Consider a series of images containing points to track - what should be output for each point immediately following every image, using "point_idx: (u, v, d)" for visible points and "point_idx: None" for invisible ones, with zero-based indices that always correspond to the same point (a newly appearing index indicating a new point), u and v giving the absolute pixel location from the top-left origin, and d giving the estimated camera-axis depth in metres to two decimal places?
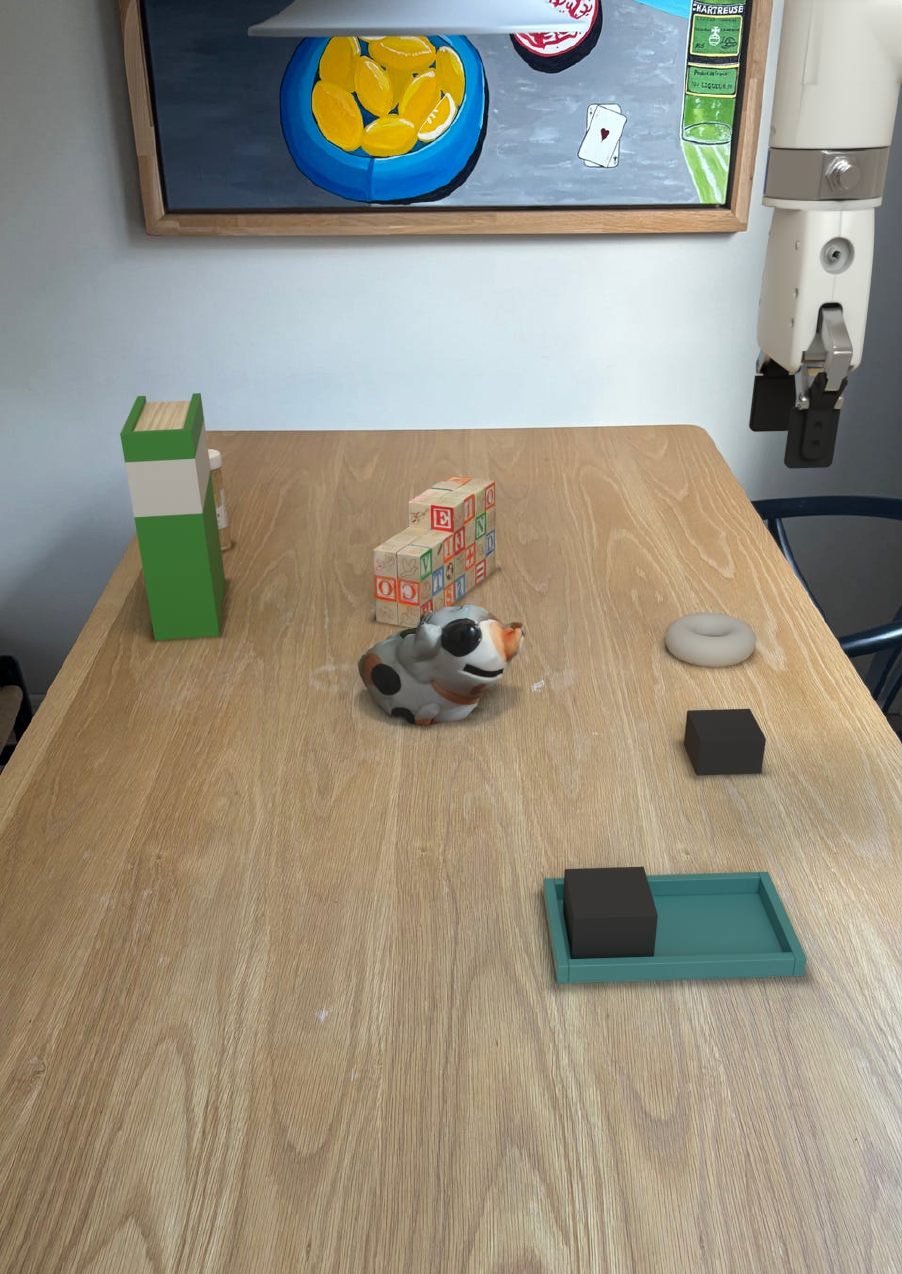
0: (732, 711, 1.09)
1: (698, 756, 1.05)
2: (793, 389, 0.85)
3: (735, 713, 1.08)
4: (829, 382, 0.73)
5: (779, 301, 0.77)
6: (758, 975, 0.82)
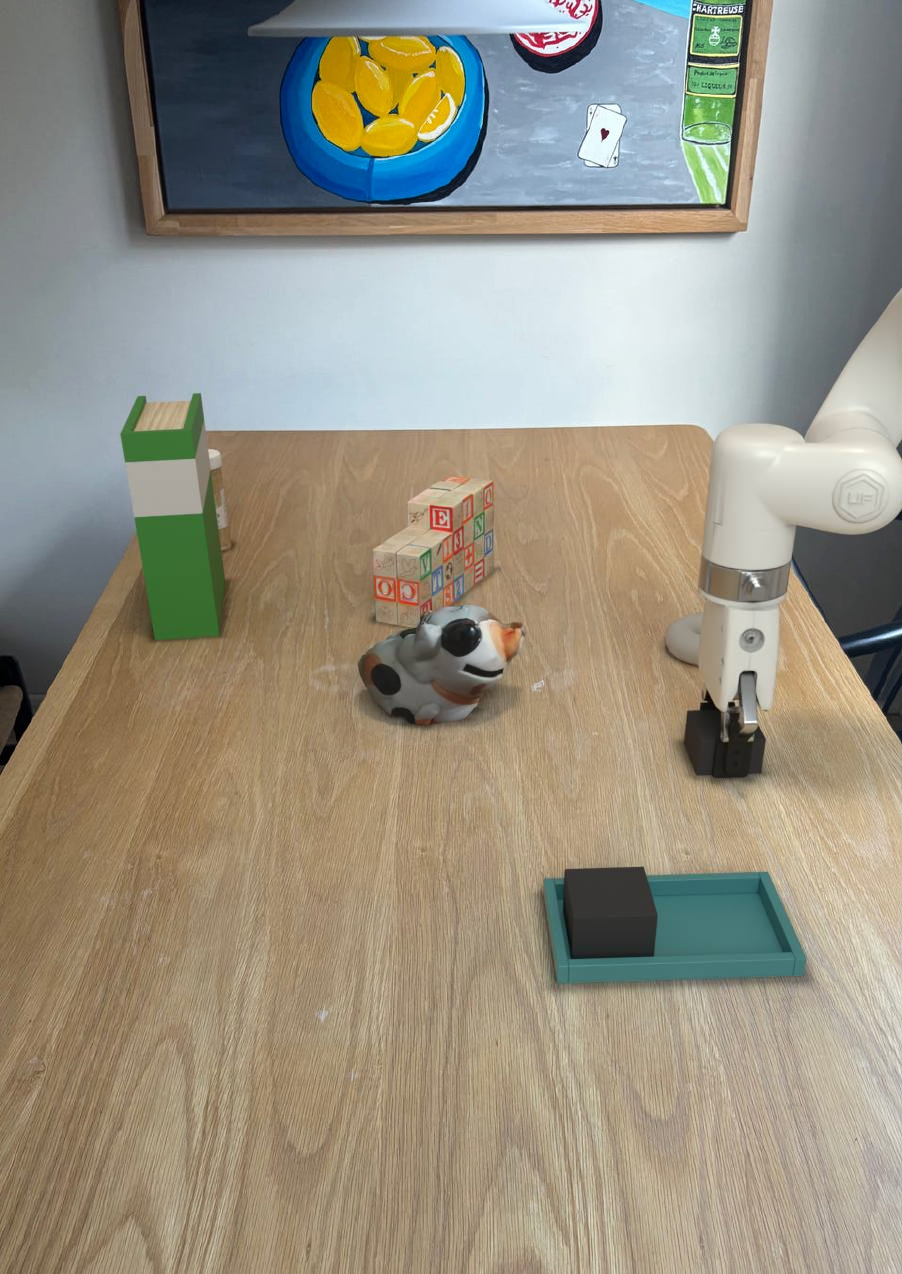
0: None
1: (698, 756, 1.05)
2: None
3: None
4: None
5: (711, 659, 1.01)
6: (758, 975, 0.82)
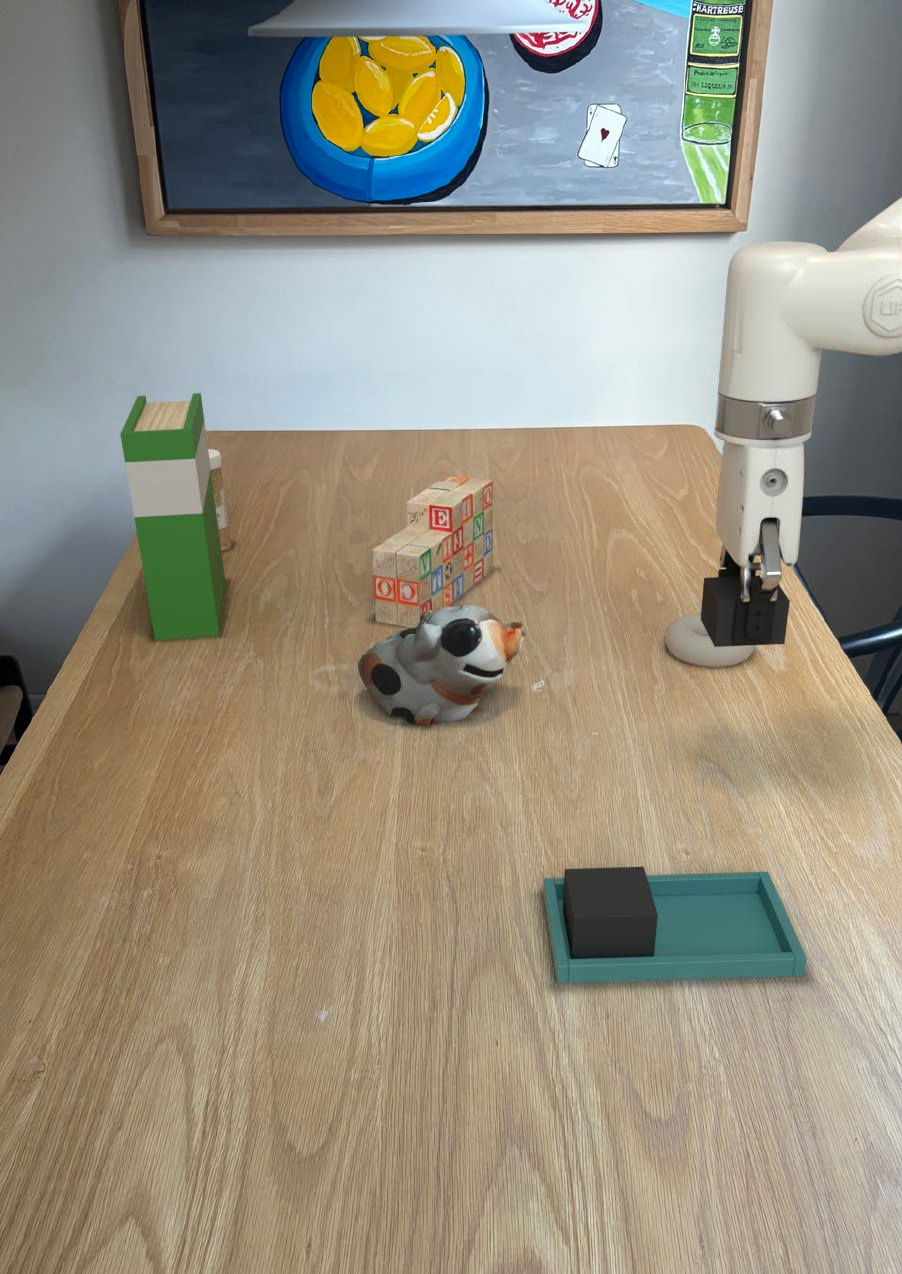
0: (753, 577, 1.01)
1: (716, 621, 0.97)
2: None
3: None
4: None
5: (730, 510, 0.93)
6: (758, 975, 0.82)
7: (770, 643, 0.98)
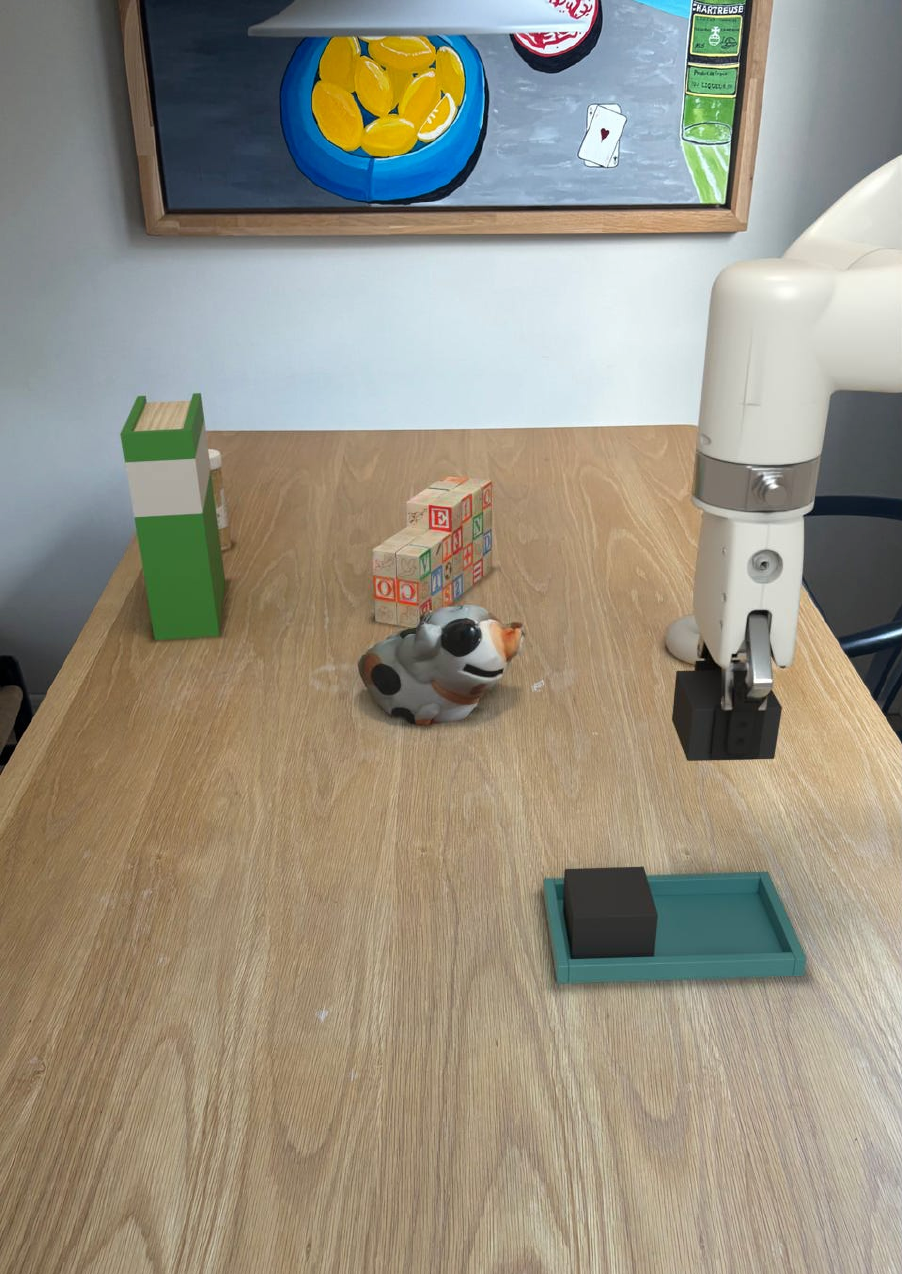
0: (737, 672, 0.81)
1: (690, 730, 0.78)
2: None
3: (741, 674, 0.81)
4: None
5: (709, 596, 0.74)
6: (758, 975, 0.82)
7: (756, 758, 0.79)
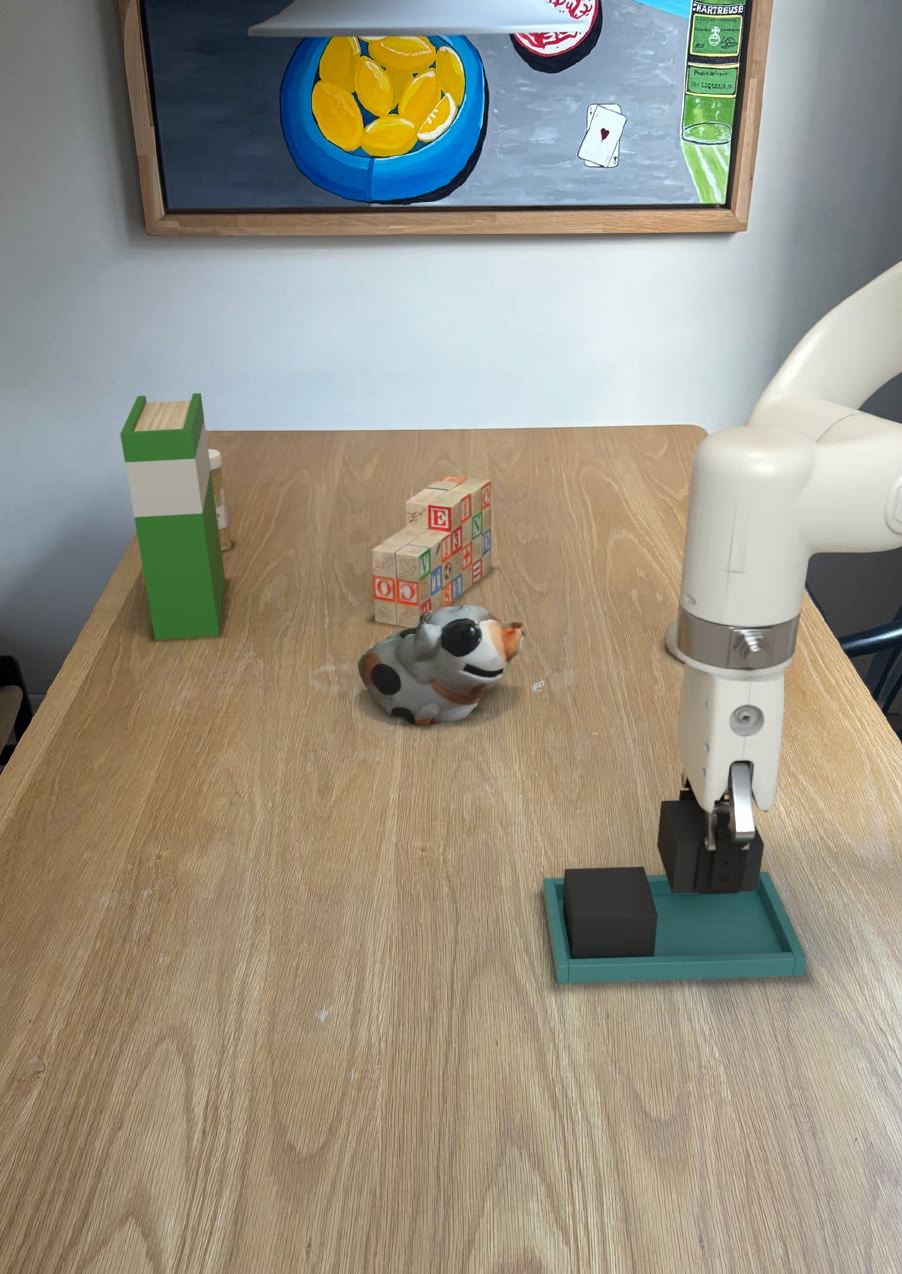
0: (720, 802, 0.83)
1: (674, 866, 0.79)
2: None
3: None
4: None
5: (693, 741, 0.76)
6: (758, 975, 0.82)
7: None
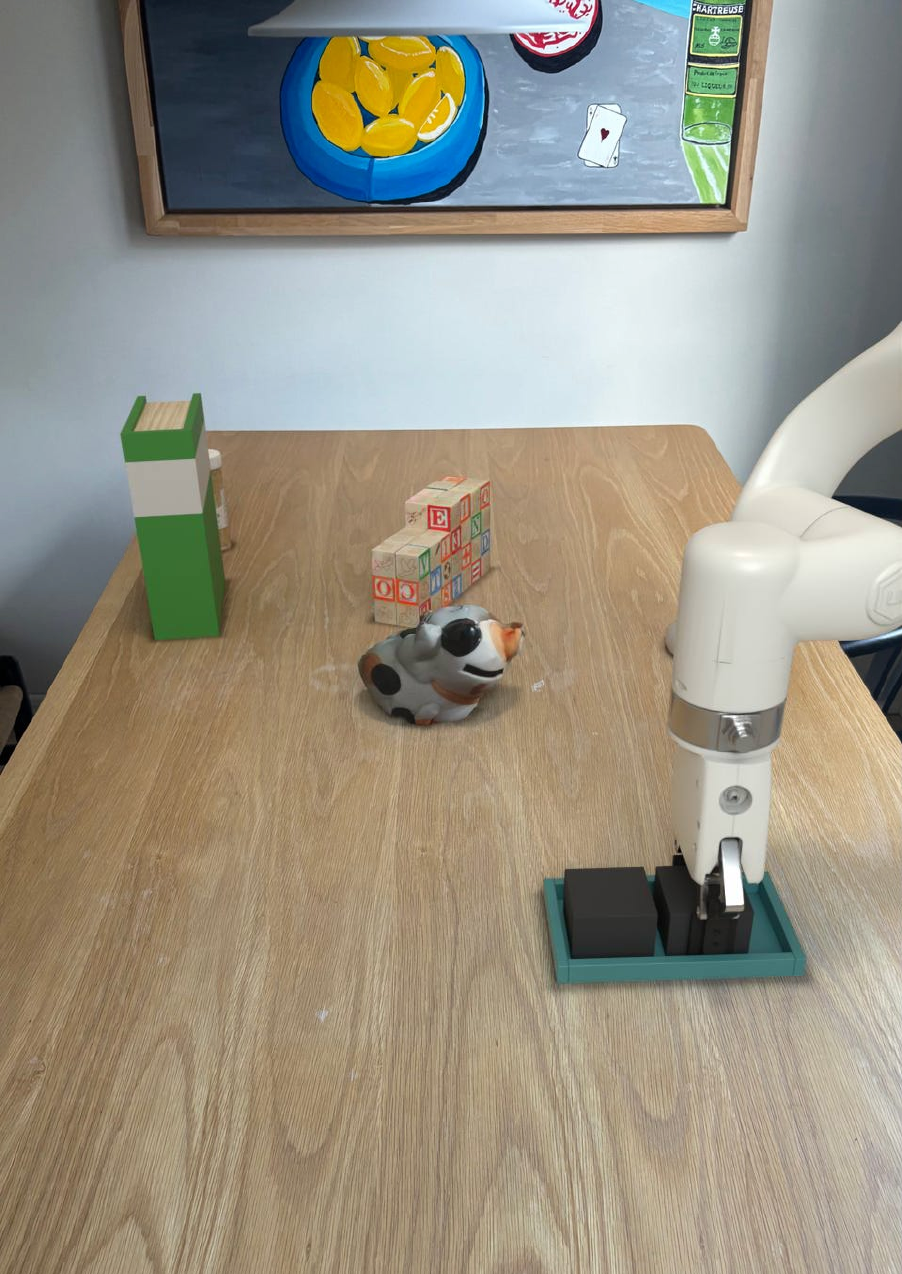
0: None
1: (668, 932, 0.83)
2: None
3: (716, 870, 0.86)
4: None
5: (685, 816, 0.79)
6: (758, 975, 0.82)
7: None
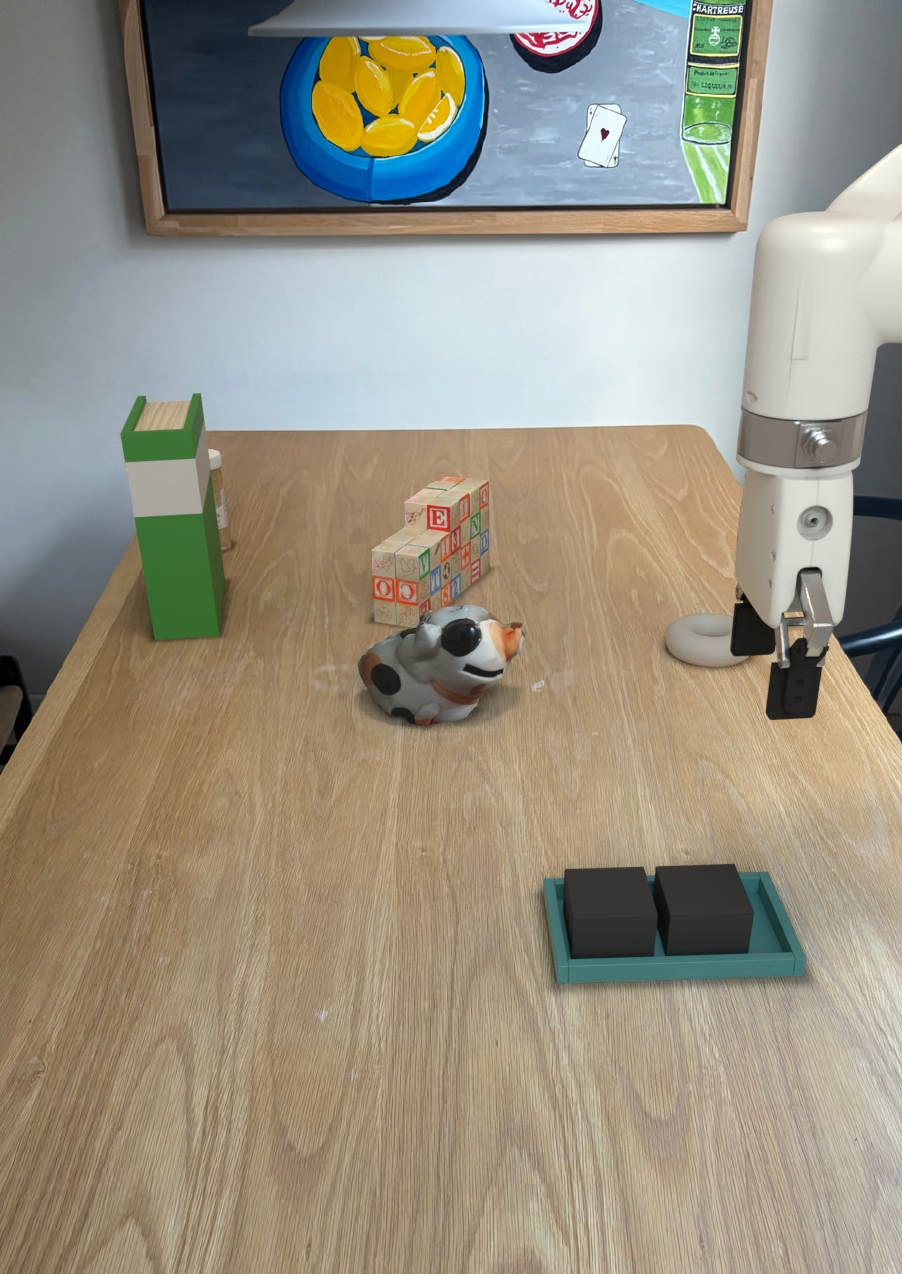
0: (712, 868, 0.86)
1: (668, 932, 0.83)
2: None
3: (716, 870, 0.86)
4: (809, 650, 0.71)
5: (757, 556, 0.74)
6: (758, 975, 0.82)
7: None
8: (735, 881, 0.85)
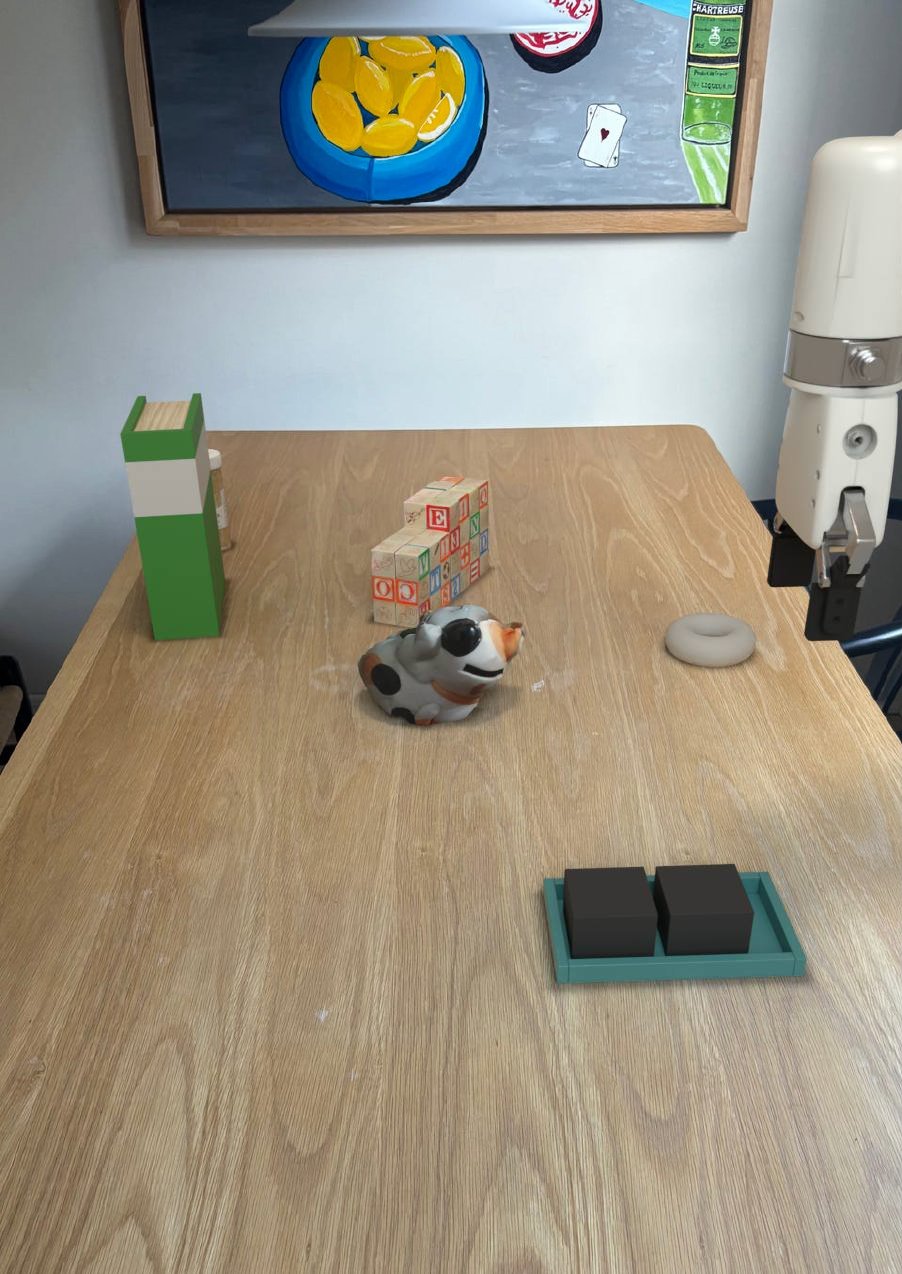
0: (712, 868, 0.86)
1: (668, 932, 0.83)
2: (812, 547, 0.85)
3: (716, 870, 0.86)
4: (851, 567, 0.72)
5: (800, 478, 0.76)
6: (758, 975, 0.82)
7: None
8: (735, 881, 0.85)
